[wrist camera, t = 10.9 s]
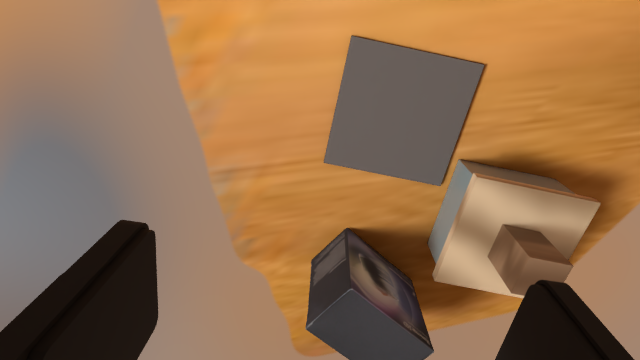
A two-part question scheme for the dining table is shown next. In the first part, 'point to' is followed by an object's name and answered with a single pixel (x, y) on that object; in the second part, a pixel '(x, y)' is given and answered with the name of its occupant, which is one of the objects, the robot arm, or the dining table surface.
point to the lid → (512, 236)
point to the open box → (459, 188)
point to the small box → (364, 304)
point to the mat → (400, 110)
